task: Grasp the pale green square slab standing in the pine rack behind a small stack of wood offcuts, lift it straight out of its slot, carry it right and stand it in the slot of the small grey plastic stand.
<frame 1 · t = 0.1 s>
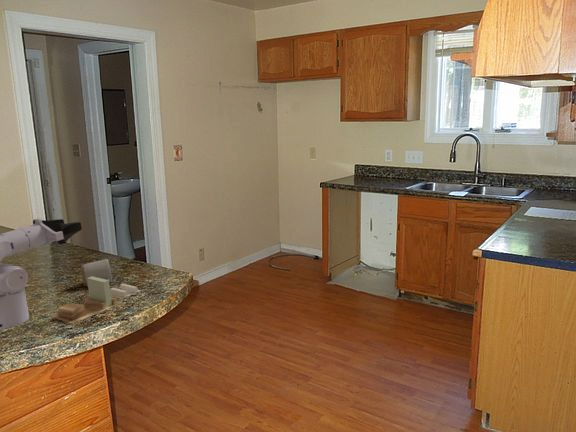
hand: (71, 224, 129), 22 cm above the countertop, tool horizontal, fingers open, 7 cm apart
pale green square slab: (100, 303, 126), point 1 cm above the countertop, touching rack
offcut low: (72, 315, 119), point 1 cm above the countertop, touching offcut top, rack
stand: (124, 296, 134), on the countertop
offcut top: (71, 311, 119), point 2 cm above the countertop, touching offcut low
ceramic mug: (99, 287, 143), on the countertop
rack: (88, 312, 123), on the countertop
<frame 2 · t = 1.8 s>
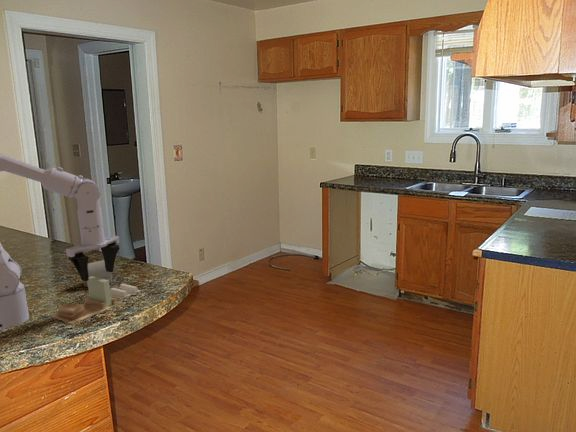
hand: (97, 275, 124), 9 cm above the countertop, tool pointing down, fingers open, 7 cm apart
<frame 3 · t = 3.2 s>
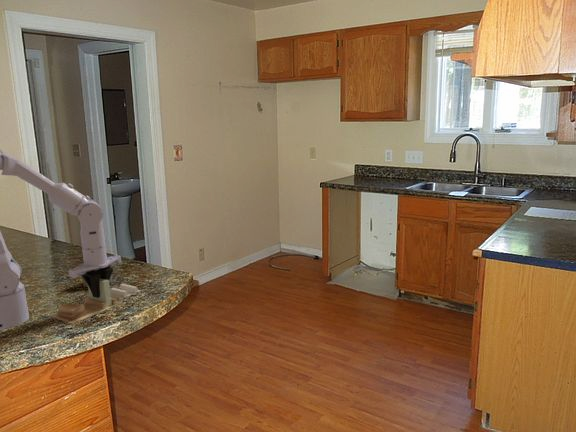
hand: (99, 295, 126), 3 cm above the countertop, tool pointing down, fingers closed on pale green square slab, 2 cm apart
pale green square slab: (100, 303, 126), point 1 cm above the countertop, touching gripper, rack
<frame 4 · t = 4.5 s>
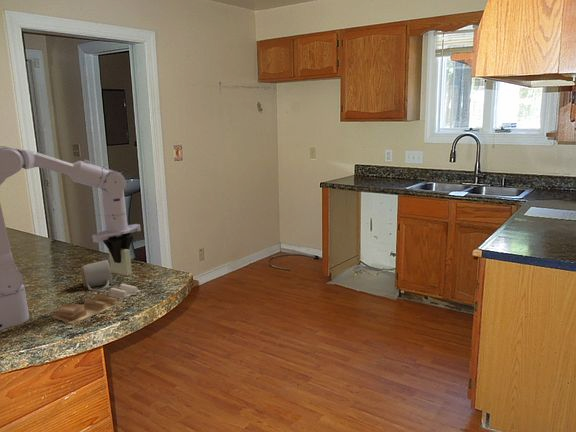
hand: (120, 261, 132), 10 cm above the countertop, tool pointing down, fingers closed on pale green square slab
pale green square slab: (121, 272, 132), point 7 cm above the countertop, touching gripper
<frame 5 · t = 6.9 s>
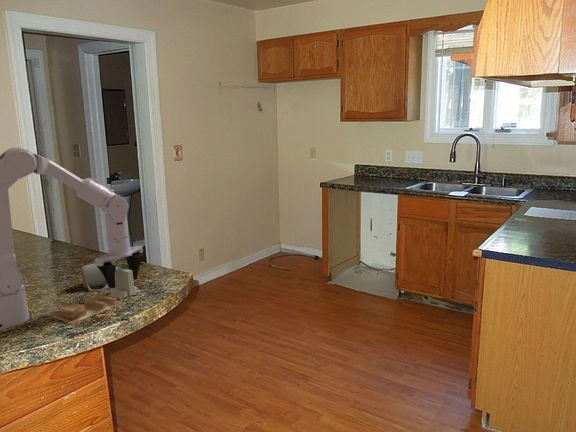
hand: (123, 283, 133), 4 cm above the countertop, tool pointing down, fingers open, 7 cm apart
pale green square slab: (124, 292, 134), point 1 cm above the countertop, touching stand
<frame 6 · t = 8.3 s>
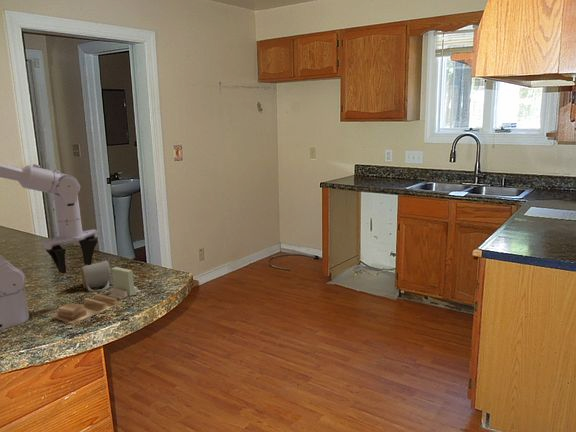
hand: (75, 268, 127), 10 cm above the countertop, tool pointing down, fingers open, 7 cm apart
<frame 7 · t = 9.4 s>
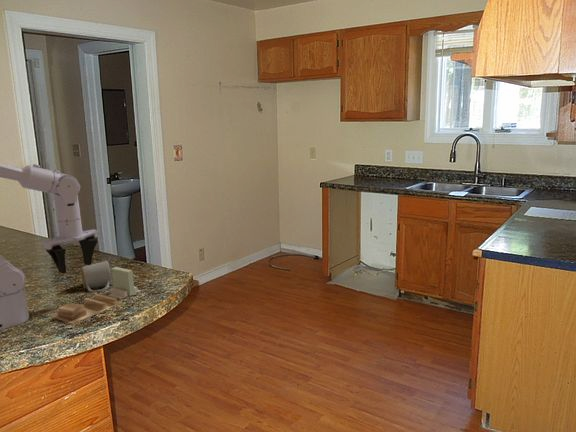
hand: (75, 268, 127), 10 cm above the countertop, tool pointing down, fingers open, 7 cm apart
at the end: pale green square slab 0.0 cm off-centre on the stand, point 1.0 cm above the stand's base; pale green square slab tilted 0°; the gripper is holding nothing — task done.
